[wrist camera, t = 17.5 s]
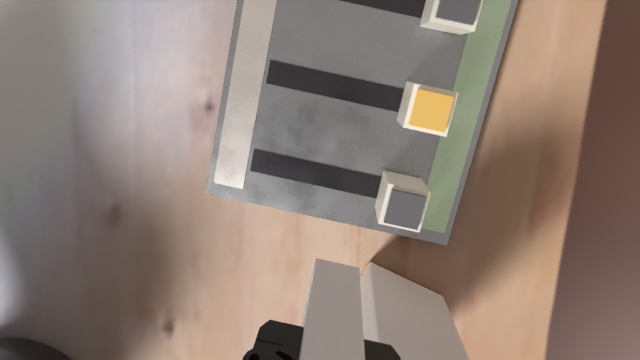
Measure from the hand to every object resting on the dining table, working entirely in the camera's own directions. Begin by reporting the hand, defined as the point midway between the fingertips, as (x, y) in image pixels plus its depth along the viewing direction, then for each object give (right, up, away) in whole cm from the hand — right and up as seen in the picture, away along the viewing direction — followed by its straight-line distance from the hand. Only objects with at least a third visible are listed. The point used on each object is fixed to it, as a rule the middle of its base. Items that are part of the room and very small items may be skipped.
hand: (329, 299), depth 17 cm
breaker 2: (+9, +16, +19) cm, 27 cm away
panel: (+3, +11, +22) cm, 25 cm away
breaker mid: (+7, +10, +21) cm, 24 cm away
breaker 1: (+6, +3, +22) cm, 23 cm away
